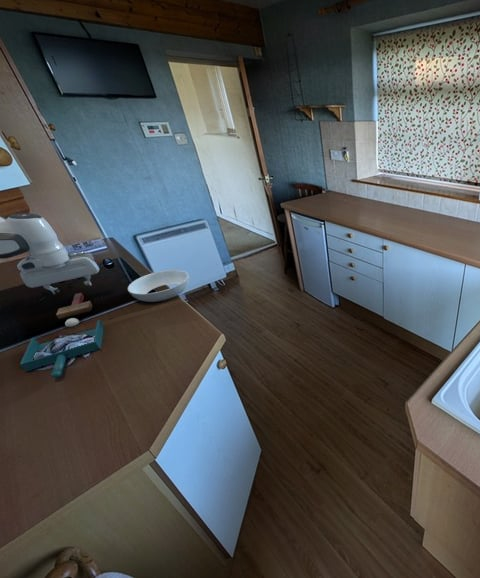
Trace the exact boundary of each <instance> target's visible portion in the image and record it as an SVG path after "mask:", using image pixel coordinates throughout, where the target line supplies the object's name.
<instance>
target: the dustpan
mask: <svg viewBox="0 0 480 578" xmlns="http://www.w3.org/2000/svg"><path fill="white" fill-rule="evenodd" d="M104 330H105V326H104V324H103V323H102V322H101V320H100V319H98V320H96V325H95V328H92V329H89V330H85V331H82V332H78V333H75V334H73V335H78V334H86V335H90V336H93V335H95V337H94V342H91V343H87V344H84V345H81V346H77V347H74V348H71V349H67V350H64V351H61V352H57V353H54V354H51V355H47V356H44V357H41V358H37V359H34V360H33V358H34V355H35V353H36V352H37V351H41V350H43V349H44V348H45V346H46V345H48V344H49V343H51V342H52V341H53V340H50V341H46V342H43V343H39V342H38V340H37V339H36V338H35V337H32V338H31V339H30V341H29V343H28V345H27V347H26V350H25V352H24V354H23V356H22V358H21V360H20V363H19V366H20V367H21V368H22V369H23V370H24V371H25V372H30V371H34V370H36V369H35V368H37V369H39V368H38V367H41V366H44V367H46V366H45V365H47V366H49V365H48V364H50V365H52V364H51V363H54V362H55V363H54V364H53V368H52V370H51V373H50V377H51V378H53V379H58V378H60V377H61V376H62V375H63V371H64V367H65V364H66V360H68V359H67V358H70V357H73V358H75V357H74V356H76V357H78V356H77V355H79V356H81V355H80V354H82V355H84V354H83V353H86V354H88V353H87V352H89V353H91V352H90V351H92V352H95V351H99V350H101V348H102V344H103V343H102V342H103V338H104V337H103V336H104ZM70 359H71V358H70ZM41 368H42V367H41ZM33 369H34V370H33Z"/></svg>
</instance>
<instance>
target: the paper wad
mask: <svg viewBox="0 0 480 578" xmlns="http://www.w3.org/2000/svg"><path fill="white" fill-rule="evenodd" d="M78 324H80V320H79V319H78V318H75V317H71V318H67V319H66V321H65V322H64V325H65V327H67V328H71V327H74V326H77V325H78ZM75 328H76V327H74V329H75Z"/></svg>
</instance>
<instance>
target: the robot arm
mask: <svg viewBox="0 0 480 578" xmlns="http://www.w3.org/2000/svg"><path fill="white" fill-rule="evenodd" d="M26 253H28V254H29V255H30V256H27V257H25V258H23V259H22V260H20V261H19V262H18V264H17V266H16V268H17V269H18V271H20V273H19V274H20V278H21V280H22V282H23V283H24V285H25V286H26V287H27V288H31V289H33V288H38V287H43V289H45V290H48V291H50V292H51V293H52V294H53V295H57V294H60V292H61V291H60V289H59V288H58V287H53V286H52V285H53V284H56V283H61V282H65V281H66V282H67V281H71V280H75V279H79V278H83V277H84V279H86V280H85V281H83V284H84V285H85V287H91V286H92V282H91V278H92V277H91V276H93V275H97V274H98V273H99V272H100V267H99V265H98V264H97V263H96V262H95V259H94V256H93V254H92V253H90V252H88V251H80V252H73V253H69V252H68V250H67V249H66V247H65V246H64V245H63V244H62V243H61V242H60V241H59V239H58V235H57V233H56V232H55V229H53V228H52V226H51V225H50V223H49V222H48V221H47V220H46V219H45V218H44V217H43V216H42V215H39V214H36V213H27V212H25V213H24V212H23V213H22V212H21V213H15V214H11V215H8V217H5V216H3V215H0V259H4V260H5V259H11V258H14V257H16V256H17V257H18V256H20V255H23V254H26ZM51 284H52V285H51Z"/></svg>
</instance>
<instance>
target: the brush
mask: <svg viewBox="0 0 480 578" xmlns="http://www.w3.org/2000/svg"><path fill="white" fill-rule="evenodd" d="M84 299H85V295H84V294H83V293H82V292H79V293H74V296H73V300H72V302H71V305H67V306H63V307H60V308H58V309H57V312H56V317H57V319H58V320H62V319H67V318H70V317H73V316H77V315H81V314H85V313H89V312H92V310H93V305H94V304H93V303H92V302H91V300H88V301H84Z"/></svg>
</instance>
